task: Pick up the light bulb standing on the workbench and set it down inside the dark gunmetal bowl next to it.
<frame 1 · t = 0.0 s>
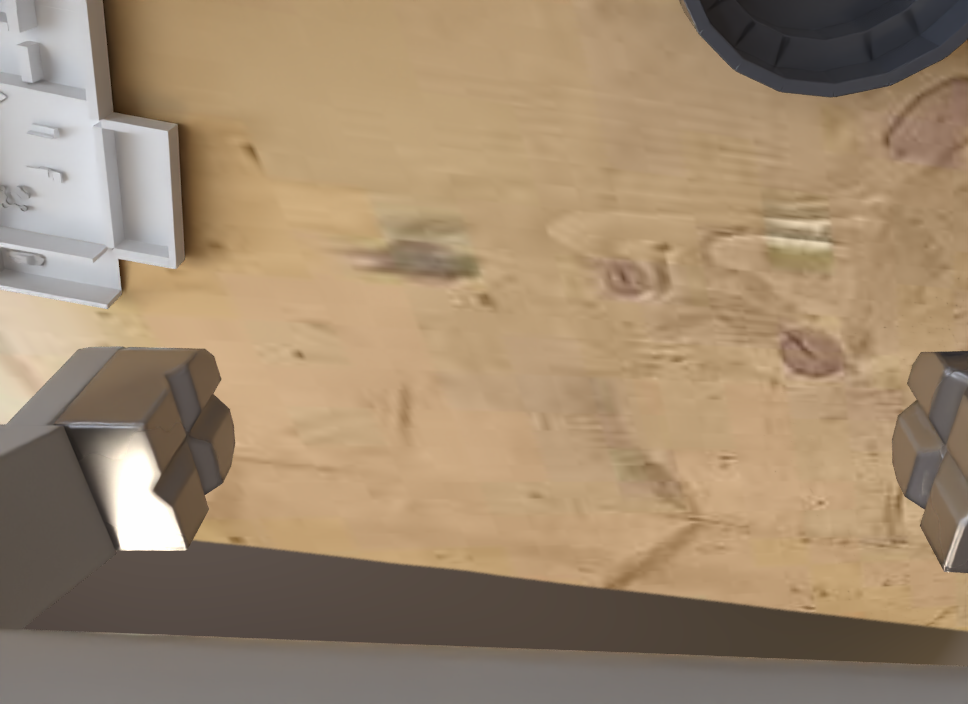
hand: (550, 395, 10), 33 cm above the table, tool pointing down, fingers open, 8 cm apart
floor plan model: (65, 134, 43), on the table
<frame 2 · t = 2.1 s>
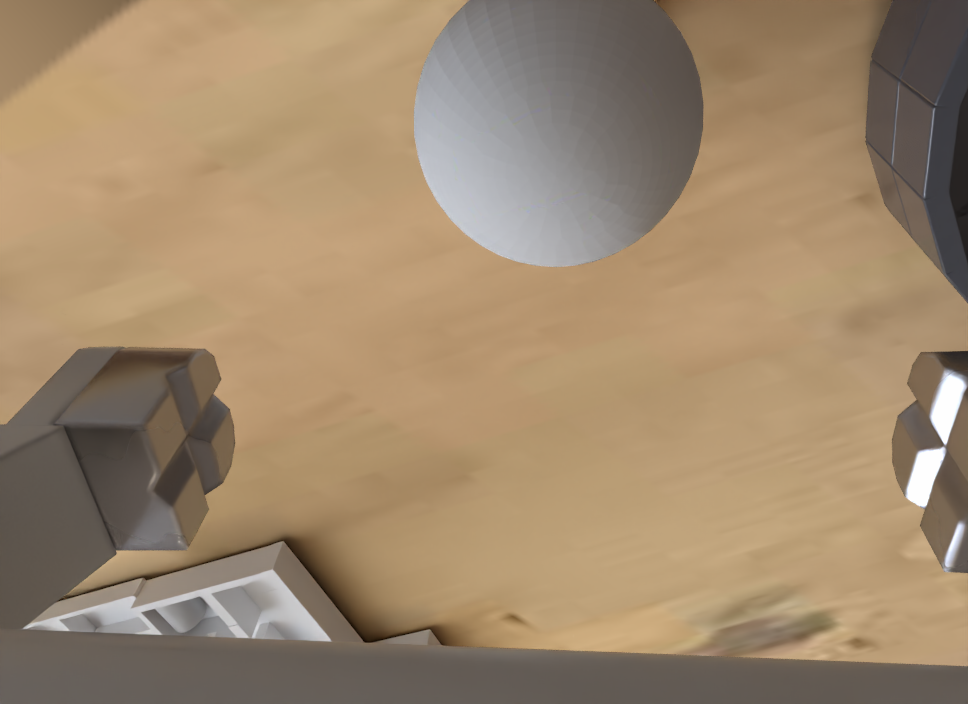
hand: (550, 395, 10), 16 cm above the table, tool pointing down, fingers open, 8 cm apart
light bulb: (556, 44, 23), on the table
floor plan model: (332, 672, 40), on the table
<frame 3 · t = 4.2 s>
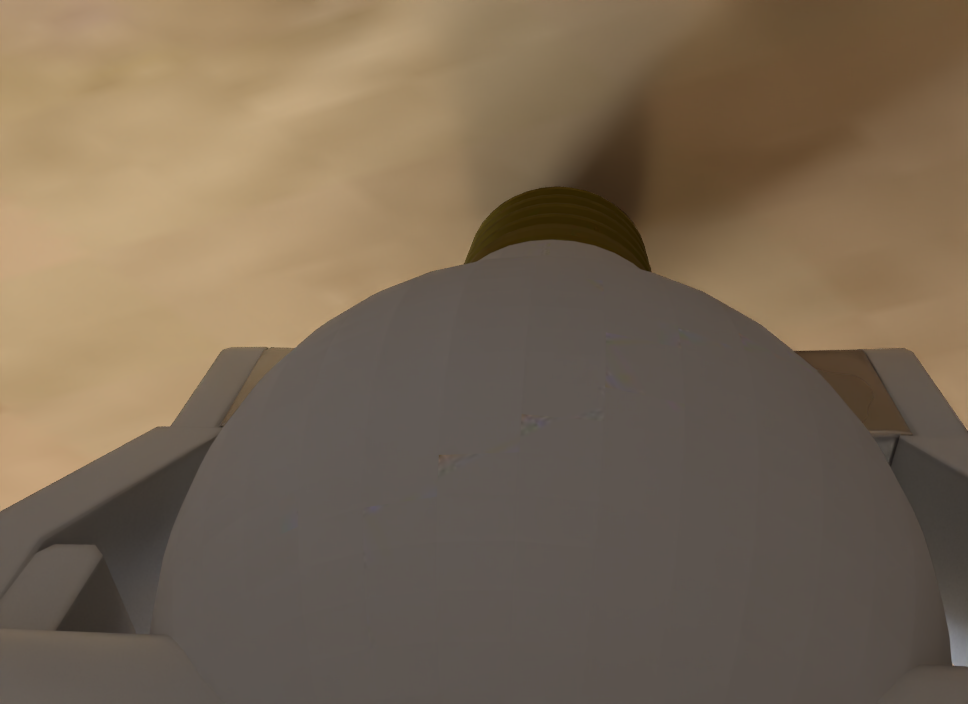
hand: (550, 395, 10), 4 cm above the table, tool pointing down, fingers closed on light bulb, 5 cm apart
light bulb: (558, 241, 13), on the table, touching gripper
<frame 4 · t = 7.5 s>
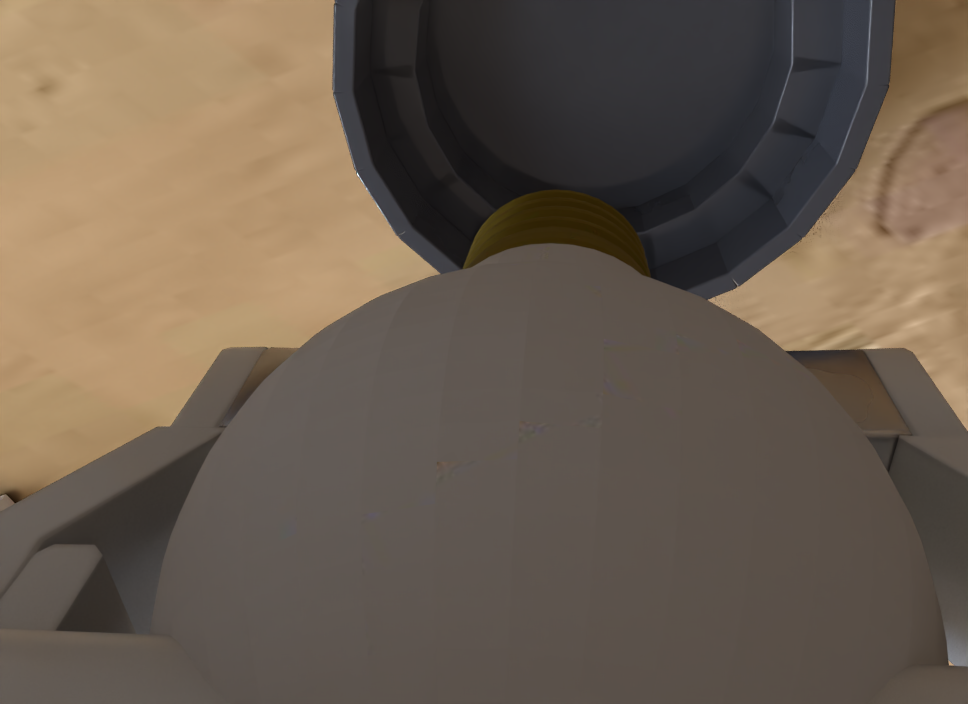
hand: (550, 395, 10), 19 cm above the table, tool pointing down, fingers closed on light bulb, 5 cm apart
light bulb: (557, 243, 13), point 15 cm above the table, touching gripper
bowl: (596, 46, 25), on the table
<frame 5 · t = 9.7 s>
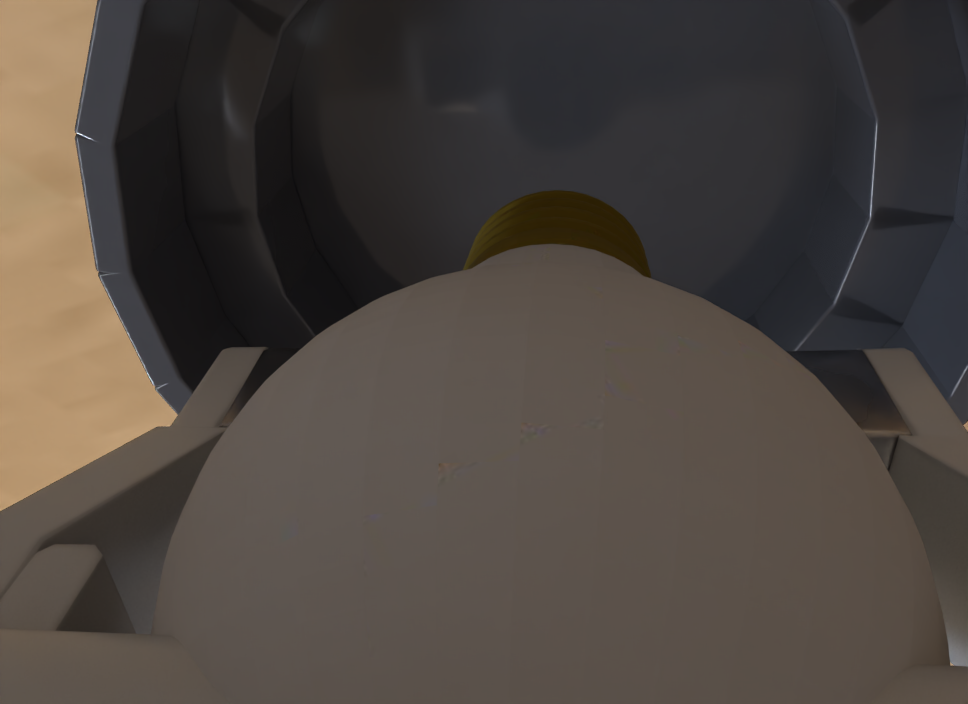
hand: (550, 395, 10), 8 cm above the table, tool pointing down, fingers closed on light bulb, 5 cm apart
light bulb: (558, 244, 13), point 4 cm above the table, touching gripper
bowl: (554, 162, 16), on the table
when the fingers open (4 cm above the table, at t = 11.2 s): light bulb stays where it is, resting on bowl.
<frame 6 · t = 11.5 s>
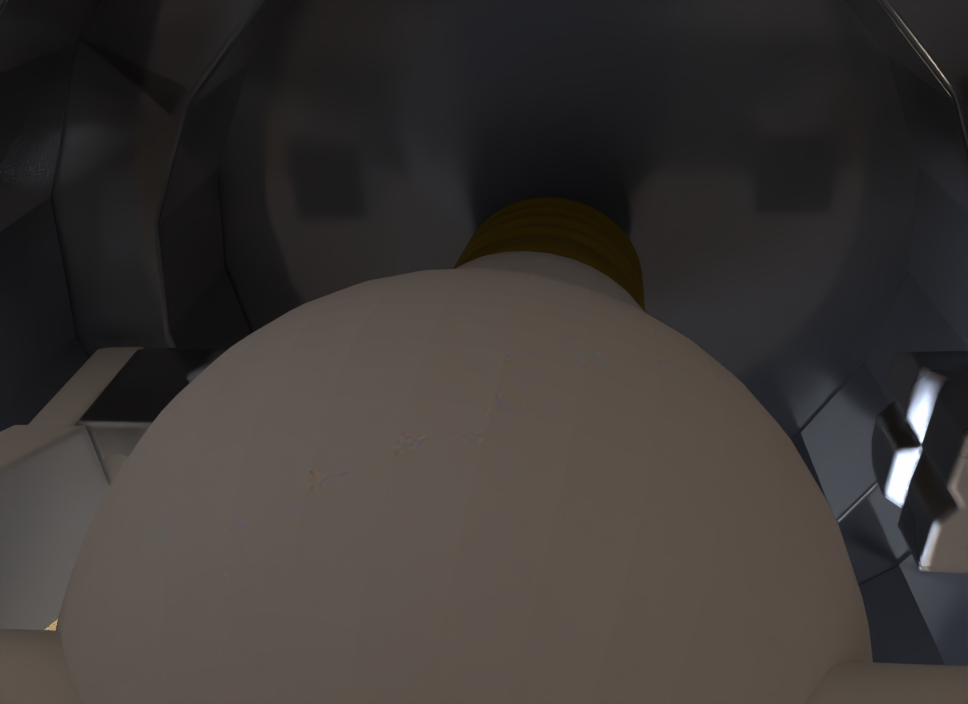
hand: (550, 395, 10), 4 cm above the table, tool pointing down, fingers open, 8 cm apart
light bulb: (557, 251, 12), point 1 cm above the table, touching bowl
bowl: (553, 249, 13), on the table
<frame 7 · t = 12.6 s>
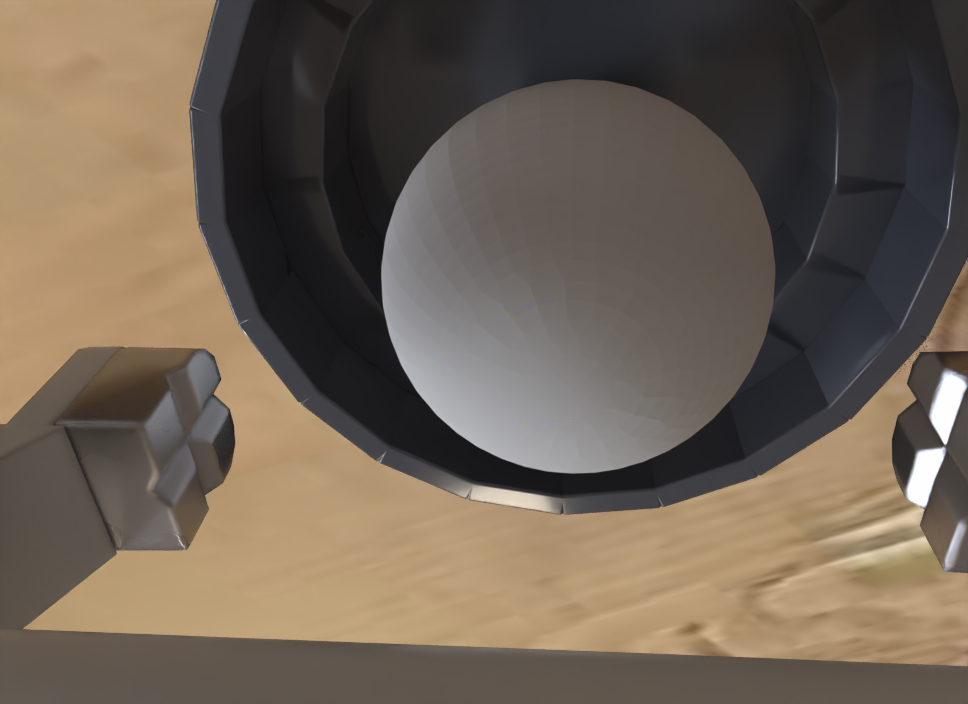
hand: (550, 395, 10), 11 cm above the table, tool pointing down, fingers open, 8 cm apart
light bulb: (573, 139, 18), resting on bowl
bowl: (571, 143, 19), on the table
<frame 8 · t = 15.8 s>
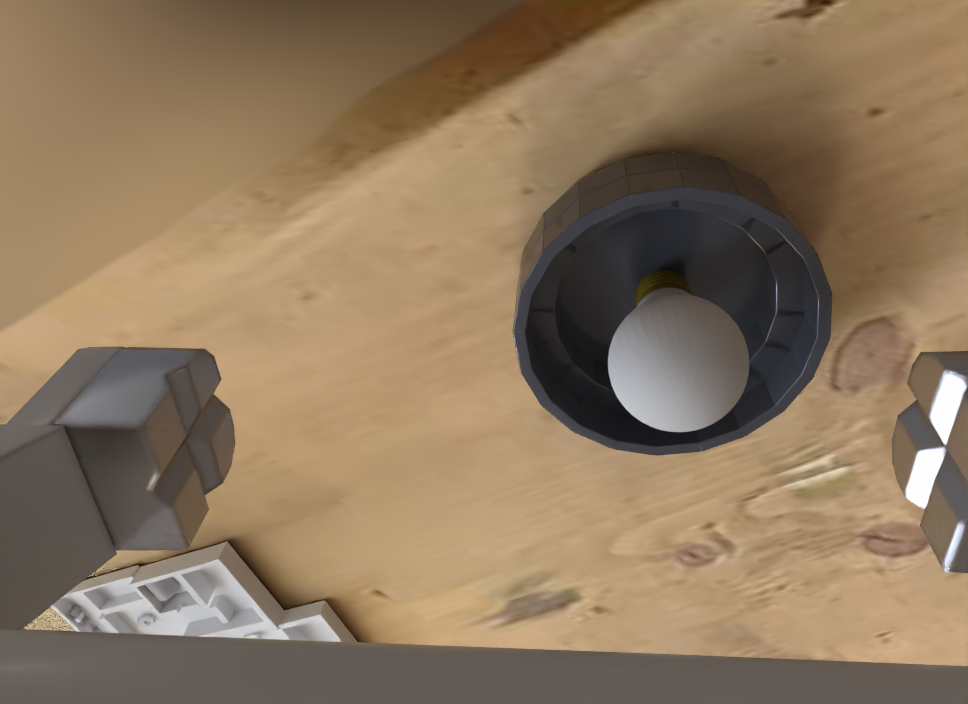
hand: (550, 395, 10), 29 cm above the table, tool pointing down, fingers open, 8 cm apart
light bulb: (660, 284, 40), resting on bowl
floor plan model: (264, 630, 59), on the table
bowl: (658, 284, 41), on the table
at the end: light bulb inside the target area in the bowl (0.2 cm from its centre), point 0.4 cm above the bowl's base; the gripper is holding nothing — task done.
